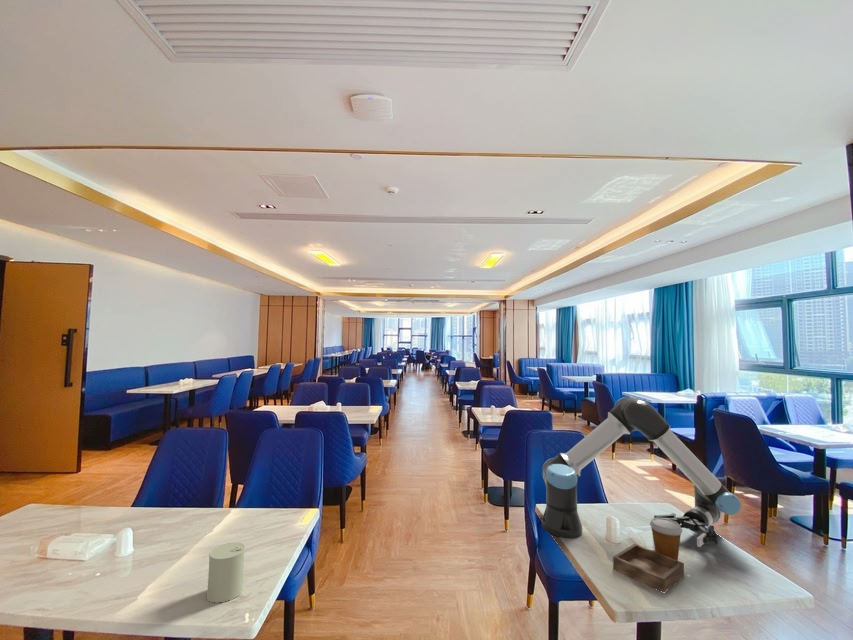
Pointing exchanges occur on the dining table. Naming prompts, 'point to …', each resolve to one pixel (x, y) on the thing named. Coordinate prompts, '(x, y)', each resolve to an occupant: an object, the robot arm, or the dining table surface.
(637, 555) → the cup tray
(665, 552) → the disposable coffee cup
